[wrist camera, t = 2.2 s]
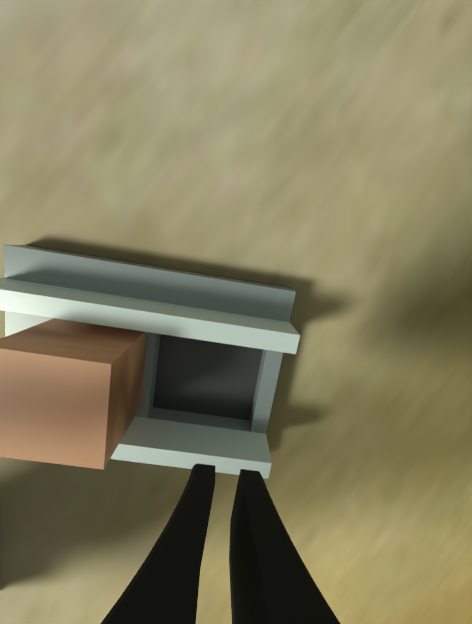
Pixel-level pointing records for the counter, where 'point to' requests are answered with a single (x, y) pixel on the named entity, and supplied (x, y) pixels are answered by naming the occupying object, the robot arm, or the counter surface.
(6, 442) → the cube
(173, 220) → the counter surface
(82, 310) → the channel
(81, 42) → the counter surface
